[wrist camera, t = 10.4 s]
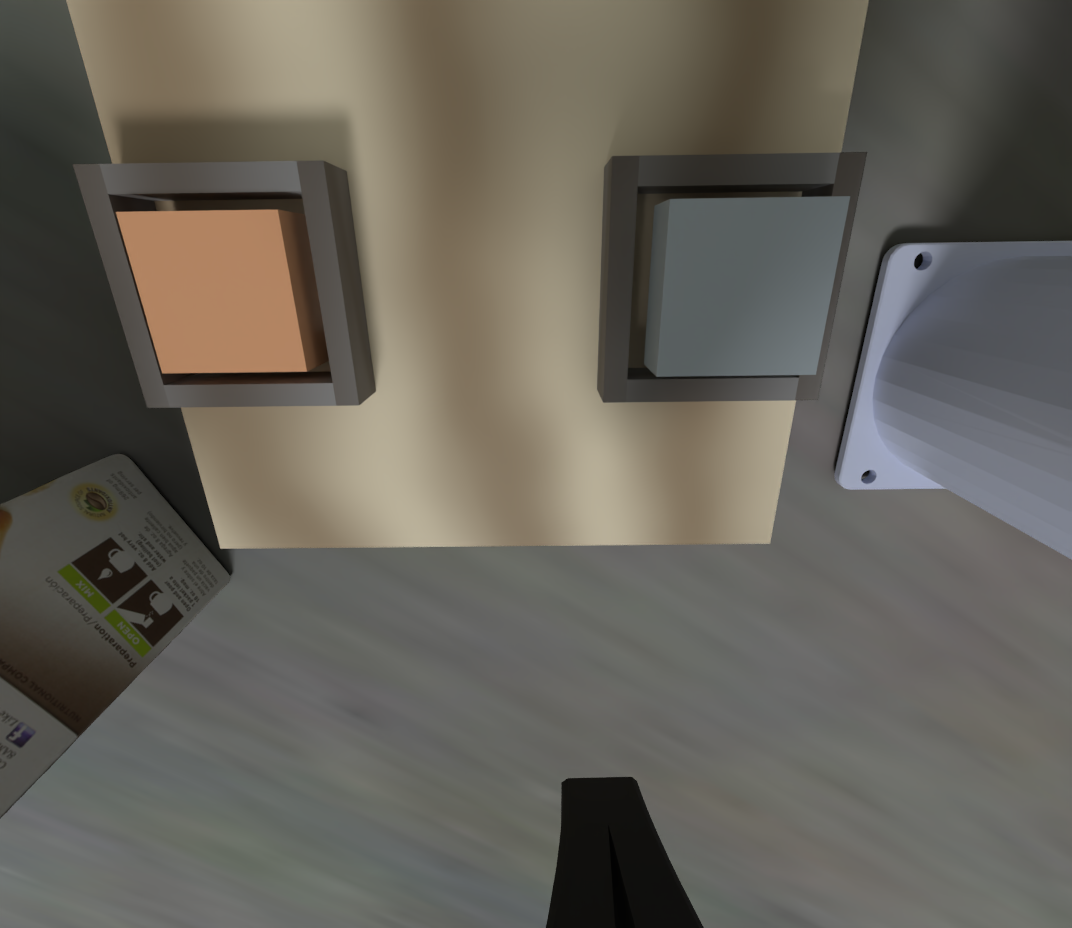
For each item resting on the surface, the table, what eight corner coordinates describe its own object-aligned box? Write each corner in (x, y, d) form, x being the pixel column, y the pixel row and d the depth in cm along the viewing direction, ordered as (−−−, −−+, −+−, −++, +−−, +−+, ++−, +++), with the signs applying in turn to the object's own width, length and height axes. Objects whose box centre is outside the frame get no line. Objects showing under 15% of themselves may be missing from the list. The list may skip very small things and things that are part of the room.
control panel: (910, -588, 10) (1128, -1085, 6) (741, 508, 19) (791, 569, 15) (-2, -564, 10) (-310, -1034, 6) (258, 513, 19) (192, 575, 15)
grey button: (813, 203, 12) (850, 196, 10) (786, 362, 13) (815, 374, 12) (654, 206, 12) (669, 199, 10) (643, 364, 13) (656, 376, 12)
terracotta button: (306, 214, 13) (277, 209, 11) (330, 360, 14) (306, 371, 13) (162, 217, 13) (115, 211, 11) (199, 361, 14) (162, 373, 13)
